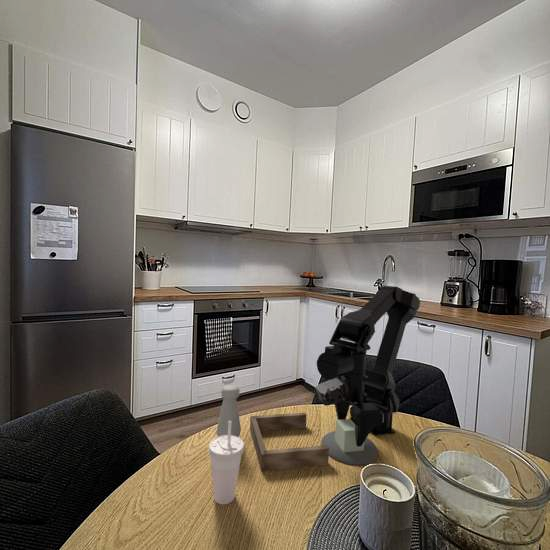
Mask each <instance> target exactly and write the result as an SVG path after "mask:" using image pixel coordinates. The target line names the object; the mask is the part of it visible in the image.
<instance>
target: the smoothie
mask: <svg viewBox="0 0 550 550" xmlns="http://www.w3.org/2000/svg"><path fill="white" fill-rule="evenodd" d="M244 450H245V443H244V440H242V438H241V437H240V436H239V437H236V436H232V435H231V421H228V435H223V436H219V437H218V436H216V437H214V438H213V439H211V440H210V442H209V444H208V450H207V452H208V454H209V456H210V466H211V476H212V477H211V478H212V488H213V489H212V490H213V499H214V501H215V503H217V504H218V505H228V504H230V503H232V502H233V501H234V499H235V497H236V491H237V490H236V489H237V486H238V485H237V484H238V478H239V472H240V466H241V460H242V455H243V453H244Z"/></svg>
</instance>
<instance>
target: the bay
mask: <svg viewBox="0 0 550 550" xmlns="http://www.w3.org/2000/svg"><path fill="white" fill-rule="evenodd" d="M306 428H307V413H306V412H297V413H295V412H293V413H292V412H291V413H281V414H280V413H278V414H276V413H275V414H264V415H263V414H262V415H251V416H250V421H249V432H250V435H251V439H252V442H253V446H254V450H255V454H256V458H257V461H258V465H259V469H260V472H266V471H267V472H268V471H277V470H286V469H295V468H296V469H297V468H305V467H314V466H323V465H329V458H330V456H329V448H328V446H327V445H323V446H321V445H316V446H315V445H314V446H313V445H312V446H303V447H290V448H280V449H269V450H268V449H266V446H265V442H264V440H263V436H262V433H261V432H267V431H268V432H269V431H282V430H283V431H285V430H295V429H297V430H298V429H306Z"/></svg>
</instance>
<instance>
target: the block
mask: <svg viewBox="0 0 550 550" xmlns="http://www.w3.org/2000/svg"><path fill="white" fill-rule="evenodd" d="M334 428H335V430H334V431H335V441H336V442H337V444H338V445H339V447H340V448H341V449H342V451H343V452H353V451H363V450H364V443H363V444H362V446H359V447H357V445H356V437H355V424H354V423H353V422H352V421H351V420H350V418H349V419H348V418H346V419H344V420H338V419H336V420H335V427H334Z"/></svg>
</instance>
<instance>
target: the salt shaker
mask: <svg viewBox="0 0 550 550" xmlns="http://www.w3.org/2000/svg"><path fill="white" fill-rule="evenodd" d="M220 395H221V398H222V404H221V408H220V412H219V418H218V421H217V427H216V431H215V432H216V435H217V436H216V437H219V436H223V435H228V421H231V435H232V436H236V437H239V438H240V436H241V431H242V426H241V421H240V414H239V413H240V412H239V408H238V401H237V398H239V397H240V388H239V387H238V386H237V385H234V384H228V385H224V386H223V387H222V388H221V393H220Z"/></svg>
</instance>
